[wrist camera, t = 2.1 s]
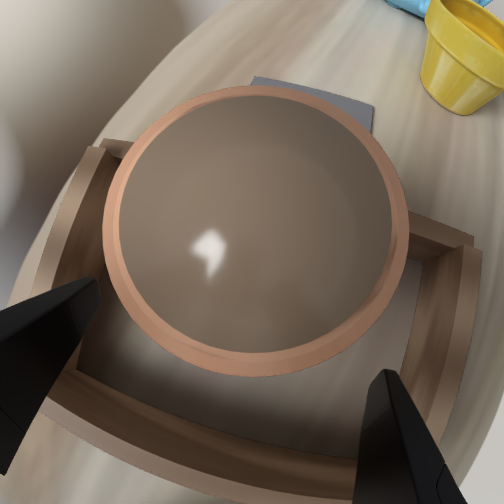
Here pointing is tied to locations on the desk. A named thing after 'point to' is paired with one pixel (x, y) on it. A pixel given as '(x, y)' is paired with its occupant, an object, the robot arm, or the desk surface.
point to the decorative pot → (421, 5)
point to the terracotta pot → (255, 231)
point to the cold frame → (223, 444)
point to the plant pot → (462, 55)
